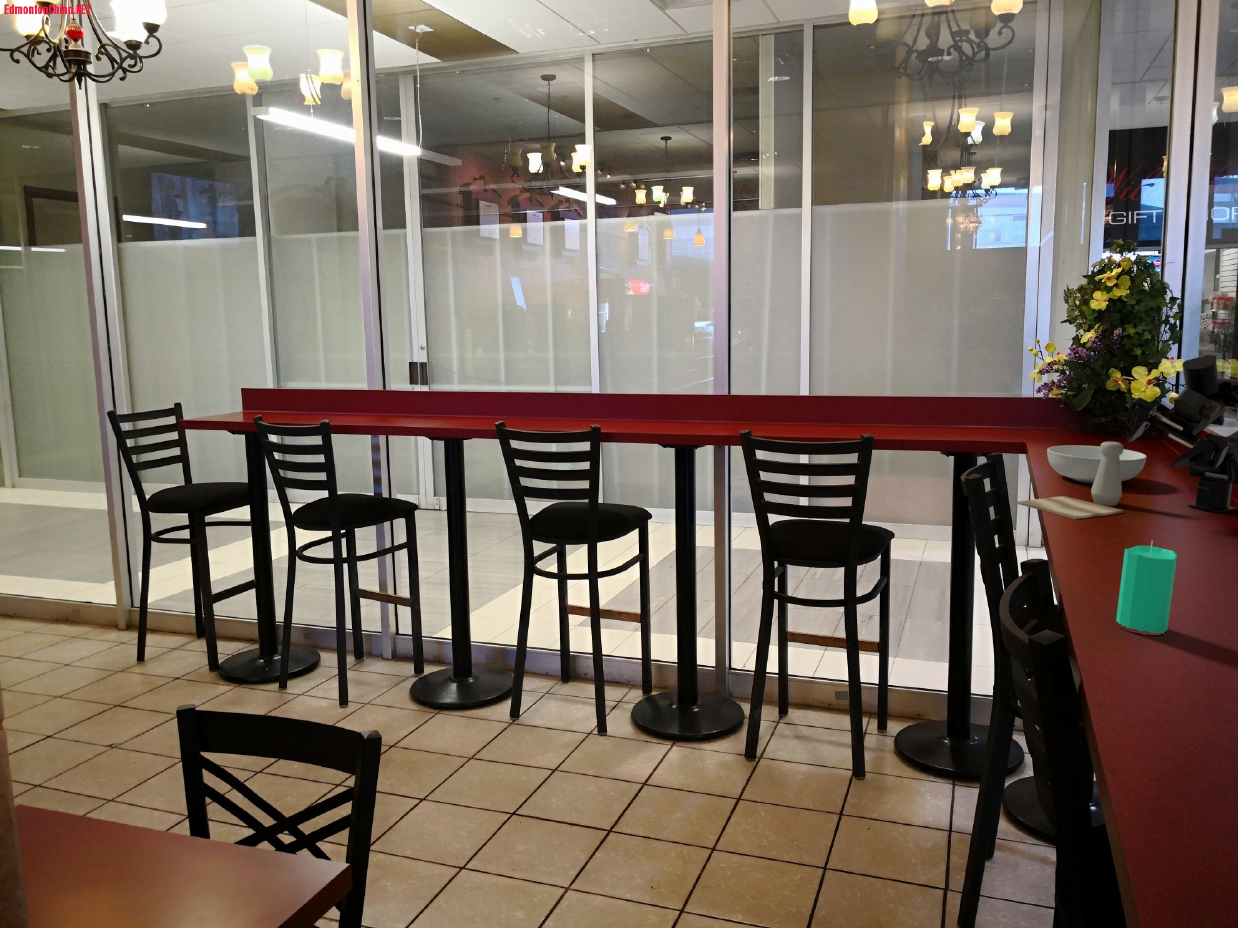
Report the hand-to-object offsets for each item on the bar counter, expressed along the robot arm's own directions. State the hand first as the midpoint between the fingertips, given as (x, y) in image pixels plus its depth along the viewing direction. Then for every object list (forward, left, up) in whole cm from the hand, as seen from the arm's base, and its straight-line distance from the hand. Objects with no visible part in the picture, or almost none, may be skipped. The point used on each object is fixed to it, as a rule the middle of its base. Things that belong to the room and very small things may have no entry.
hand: (1149, 452), depth 185 cm
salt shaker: (-7, -13, -14) cm, 20 cm away
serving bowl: (-27, -31, -14) cm, 43 cm away
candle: (+56, +39, -14) cm, 70 cm away
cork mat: (+4, -13, -13) cm, 19 cm away
